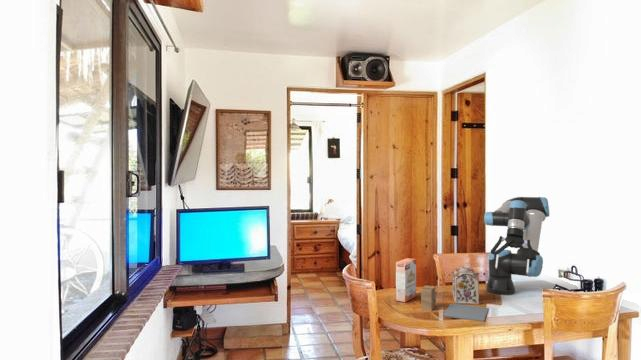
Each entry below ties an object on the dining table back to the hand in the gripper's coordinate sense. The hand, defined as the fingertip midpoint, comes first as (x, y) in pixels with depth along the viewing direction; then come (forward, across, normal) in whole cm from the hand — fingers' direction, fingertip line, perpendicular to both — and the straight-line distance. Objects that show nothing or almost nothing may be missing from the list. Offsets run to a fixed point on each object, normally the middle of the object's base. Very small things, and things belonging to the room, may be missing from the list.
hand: (511, 270), depth 194 cm
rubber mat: (+24, -18, 0) cm, 30 cm away
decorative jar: (+16, -20, +17) cm, 31 cm away
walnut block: (+26, -36, +1) cm, 44 cm away
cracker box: (+22, -49, +10) cm, 55 cm away
